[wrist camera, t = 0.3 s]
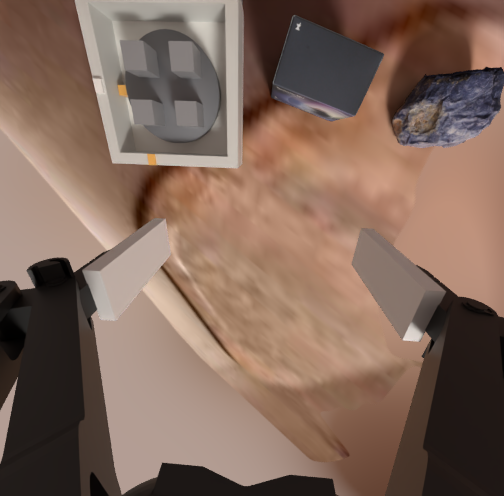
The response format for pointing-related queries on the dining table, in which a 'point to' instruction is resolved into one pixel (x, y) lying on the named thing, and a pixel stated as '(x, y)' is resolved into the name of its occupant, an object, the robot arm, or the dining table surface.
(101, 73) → the white open square box
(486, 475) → the robot arm
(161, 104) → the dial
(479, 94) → the rock
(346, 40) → the small box
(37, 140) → the dining table surface
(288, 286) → the dining table surface
